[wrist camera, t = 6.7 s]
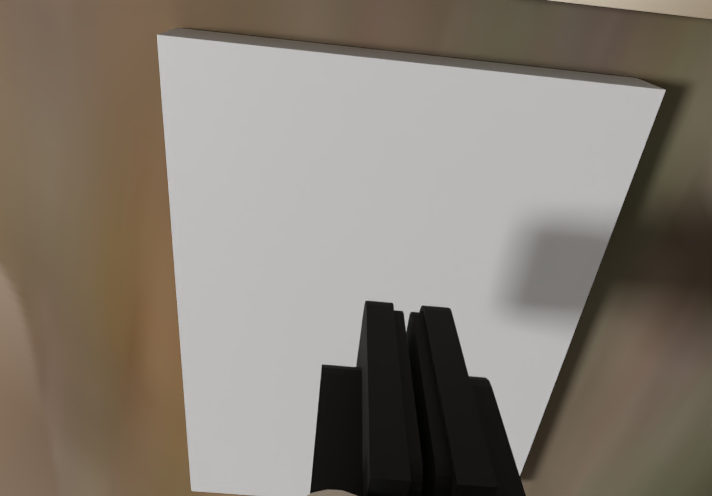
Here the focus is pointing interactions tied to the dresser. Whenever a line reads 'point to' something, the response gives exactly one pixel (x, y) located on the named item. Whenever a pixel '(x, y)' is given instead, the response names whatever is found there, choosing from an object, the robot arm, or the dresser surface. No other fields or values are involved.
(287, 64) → the grey plank
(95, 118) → the dresser surface
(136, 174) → the dresser surface
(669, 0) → the birch board
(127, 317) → the dresser surface
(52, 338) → the dresser surface
